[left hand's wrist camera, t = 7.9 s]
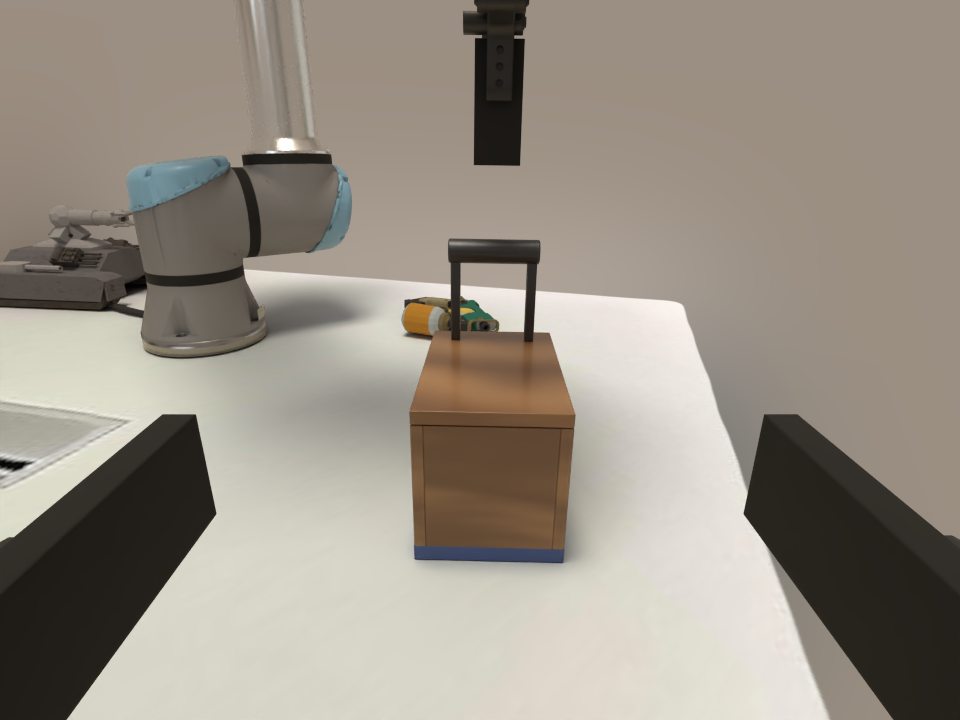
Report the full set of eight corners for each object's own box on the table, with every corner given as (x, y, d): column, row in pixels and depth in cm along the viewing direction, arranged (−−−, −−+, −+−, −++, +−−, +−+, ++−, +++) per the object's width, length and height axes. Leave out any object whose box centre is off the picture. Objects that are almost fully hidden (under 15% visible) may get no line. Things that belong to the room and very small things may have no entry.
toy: (-37, 305, 88) (-70, 209, 82) (63, 277, 106) (42, 198, 101) (111, 311, 86) (87, 213, 80) (186, 282, 104) (171, 201, 99)
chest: (435, 444, 49) (434, 342, 46) (543, 447, 49) (549, 345, 45) (414, 558, 35) (409, 425, 32) (562, 562, 35) (574, 429, 32)
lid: (434, 340, 46) (432, 234, 43) (548, 342, 46) (555, 236, 43) (409, 424, 32) (404, 276, 29) (574, 428, 32) (587, 279, 29)
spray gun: (408, 311, 90) (498, 317, 90) (388, 338, 74) (498, 345, 74) (408, 286, 89) (500, 291, 89) (388, 308, 73) (499, 314, 73)
